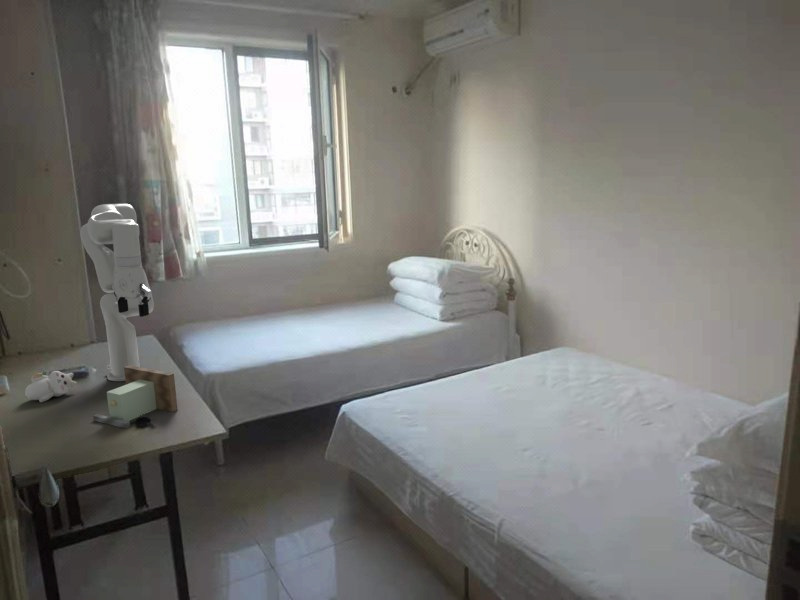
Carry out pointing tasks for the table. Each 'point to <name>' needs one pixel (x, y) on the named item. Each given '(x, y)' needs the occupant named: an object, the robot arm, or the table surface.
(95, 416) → the brown piece
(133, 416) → the pale green block
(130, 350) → the robot arm
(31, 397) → the cat figurine
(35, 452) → the table surface
